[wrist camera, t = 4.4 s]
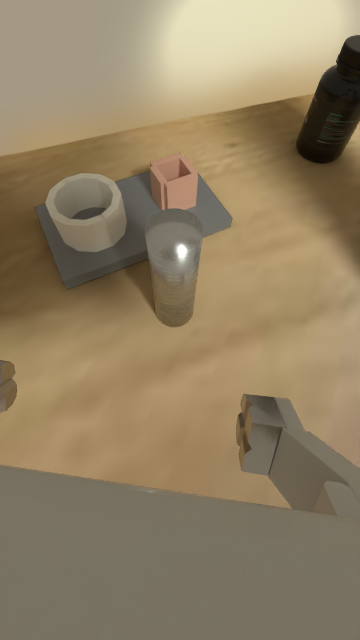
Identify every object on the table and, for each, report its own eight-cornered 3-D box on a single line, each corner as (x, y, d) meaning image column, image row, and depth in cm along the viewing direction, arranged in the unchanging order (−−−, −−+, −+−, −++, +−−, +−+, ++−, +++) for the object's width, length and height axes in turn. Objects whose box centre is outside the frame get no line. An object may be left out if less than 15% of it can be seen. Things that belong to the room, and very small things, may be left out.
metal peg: (182, 288, 31) (186, 201, 20) (199, 317, 30) (213, 240, 19) (149, 302, 30) (135, 219, 20) (165, 333, 29) (159, 261, 18)
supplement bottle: (297, 131, 44) (337, 26, 33) (341, 140, 43) (397, 35, 32) (292, 158, 41) (334, 53, 30) (339, 168, 40) (400, 64, 30)
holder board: (186, 169, 40) (188, 128, 35) (230, 227, 35) (239, 189, 30) (39, 216, 35) (17, 177, 30) (67, 289, 31) (46, 257, 26)
